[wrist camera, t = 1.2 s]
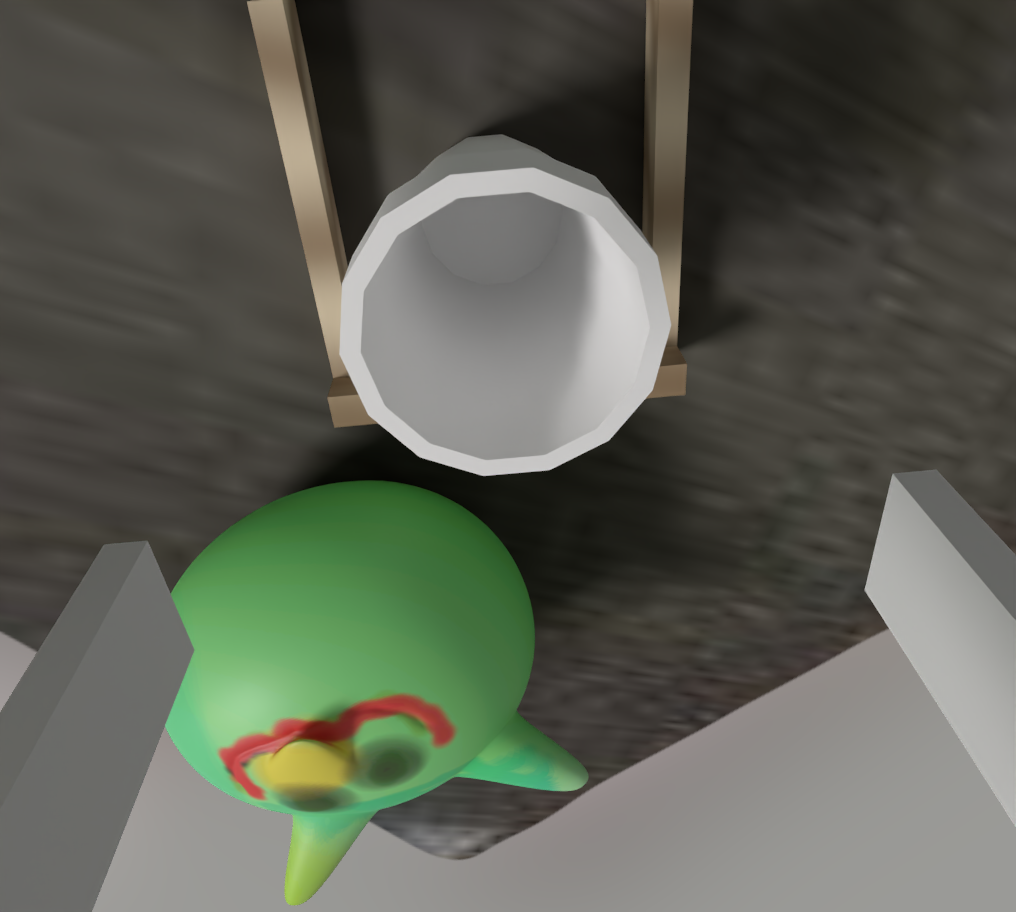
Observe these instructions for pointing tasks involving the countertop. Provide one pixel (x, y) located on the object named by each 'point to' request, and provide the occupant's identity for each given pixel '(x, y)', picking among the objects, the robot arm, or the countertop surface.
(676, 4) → the wooden u-shaped frame
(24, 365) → the countertop surface
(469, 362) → the foam cup
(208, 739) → the toy bird
